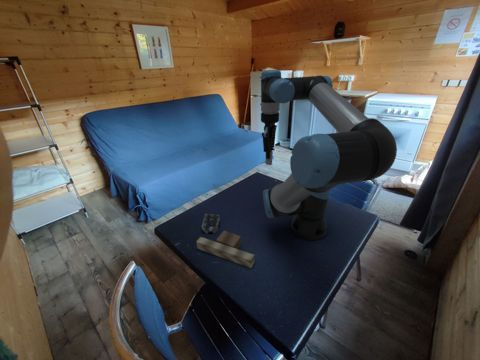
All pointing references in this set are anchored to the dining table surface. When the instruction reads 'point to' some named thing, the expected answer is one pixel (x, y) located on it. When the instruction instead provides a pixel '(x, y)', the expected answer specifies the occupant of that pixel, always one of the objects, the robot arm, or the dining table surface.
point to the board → (225, 252)
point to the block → (229, 239)
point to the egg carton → (211, 221)
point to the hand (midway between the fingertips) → (268, 164)
